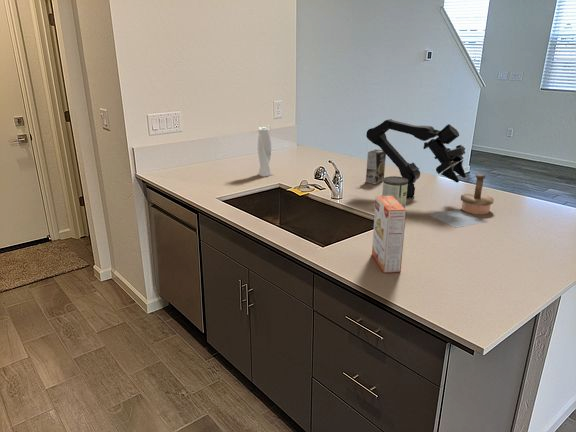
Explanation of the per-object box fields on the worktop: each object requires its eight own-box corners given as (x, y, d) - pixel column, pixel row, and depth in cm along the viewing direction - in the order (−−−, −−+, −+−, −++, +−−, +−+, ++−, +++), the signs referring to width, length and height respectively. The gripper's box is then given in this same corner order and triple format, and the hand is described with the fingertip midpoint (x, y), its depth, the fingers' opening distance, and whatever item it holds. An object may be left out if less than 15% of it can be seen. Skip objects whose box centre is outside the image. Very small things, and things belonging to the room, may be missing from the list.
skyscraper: (275, 176, 246) (275, 124, 236) (263, 178, 242) (262, 125, 232) (267, 172, 252) (266, 122, 243) (255, 175, 248) (253, 123, 238)
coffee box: (376, 184, 231) (378, 153, 225) (365, 182, 234) (367, 151, 229) (384, 180, 237) (386, 150, 232) (373, 178, 241) (375, 148, 235)
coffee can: (382, 206, 199) (384, 175, 194) (406, 208, 196) (409, 177, 191) (378, 213, 190) (381, 181, 185) (403, 216, 186) (407, 183, 181)
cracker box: (370, 254, 152) (374, 195, 145) (388, 253, 152) (393, 194, 145) (382, 273, 139) (387, 209, 131) (401, 273, 139) (407, 209, 132)
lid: (480, 207, 184) (484, 181, 180) (454, 198, 194) (457, 173, 190) (499, 202, 190) (504, 176, 186) (473, 194, 201) (477, 169, 197)
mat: (455, 228, 174) (455, 227, 174) (427, 215, 188) (427, 214, 187) (486, 222, 180) (486, 221, 180) (457, 210, 194) (457, 209, 194)
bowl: (468, 215, 188) (470, 205, 187) (457, 206, 198) (458, 196, 197) (494, 214, 189) (495, 204, 187) (481, 206, 199) (483, 196, 198)
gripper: (447, 142, 184) (470, 173, 181) (462, 136, 198) (484, 164, 195) (426, 158, 191) (448, 188, 189) (442, 151, 205) (463, 179, 203)
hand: (461, 179), depth 194 cm, fingers open, 9 cm apart
